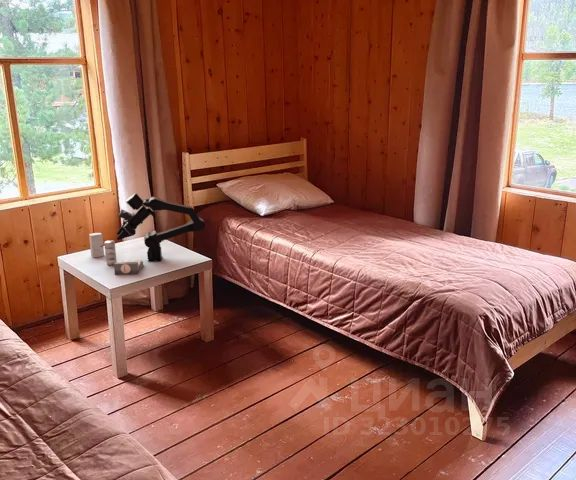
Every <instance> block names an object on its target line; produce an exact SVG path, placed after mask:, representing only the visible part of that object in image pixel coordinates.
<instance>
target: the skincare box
mask: <svg viewBox="0 0 576 480" xmlns="http://www.w3.org/2000/svg"><path fill="white" fill-rule="evenodd" d="M88 236H89V246H90V248H89V249H90V256H91V257H92V258H98V257H103V256H105V246H104V239H103V234H102V233H101V232H94V233H88Z"/></svg>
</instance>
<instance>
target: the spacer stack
mask: <svg viewBox="0 0 576 480" xmlns="http://www.w3.org/2000/svg"><path fill="white" fill-rule="evenodd" d="M103 245H104V255H105V261H106V262H105V263H106V266H107V267H111V266H113V267H114V263H115V262H118V261H117V260H118V259H117V252H116V243H115V240H113V239H112V240H111V239H110V240H105V241H103Z"/></svg>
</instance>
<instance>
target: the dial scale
mask: <svg viewBox="0 0 576 480" xmlns="http://www.w3.org/2000/svg"><path fill="white" fill-rule="evenodd" d="M143 267H144V261H142V259H127V260H126V259H122V260H120V261H117V262H115V263H114V266H113V271H114V275H115V276H118V275H119V276H120V275H121V276H122V275H125V276H126V275H138V274H139V273H140V272H141V270H142V269H143Z"/></svg>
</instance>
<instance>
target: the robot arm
mask: <svg viewBox="0 0 576 480" xmlns="http://www.w3.org/2000/svg"><path fill="white" fill-rule="evenodd" d="M125 203H126V204H127V205H128V206H129V207H131V209H132V210H136V211H135V212H132V213H131V212H129V211H126V210H124V209H120V211H119V214H118V217H119V218H121V219H123V220H122V225H121V226H120V228H119V229H118V231H117V232H116V235H118V236H117V237H116V240H117V241H119V240H122V239H126V238H129V237H133V236H135V234H136V230H137V229H138V227H139V226H140V225H141V224H143V223H144V221H145V220H146V219H148V218H149V217H150V216H152V217H153V218H155V214H156V211H170V212H174V213H179V214H184V215H188V217H189V218H190V220H189V221H188V222H186V223H185V224H182V225H180V226H179V225H178V226H176V227H173V228H170V229H168V230H165V231H164V230H163V231H162V232H157V231H156V230H153V231H151V232H150V231H149V232H148V231H147V233H146V234H145V236H144V237H143V238H144V239H143V241H144V245H145V246H146V247H147V252H146V253H147V254H146V257H147V259H148V260H147V262H161V261H162V259H163V253H162V247H161V243H162V242H164V241H167V240H169V239H172V238H174V237H178V236H181V235H183V234H187V233H194V232H195V233H196V232H201V231H203V230H204V229H205V227H206V223H205V221H204V219H203V218H201V217H200V216H199V215H198V213H196V211H195V208H194V207H193V206H191V205H183V204H178V203H175V202H170V201H167V200H164V199H162V198H160V197H158V196H151V197H150V198H145V199H142V198H141V197H140V195H139V194H138V193H137V192H135V193H134V194H132V195H131V196H129V197H127V199H126V201H125Z"/></svg>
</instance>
